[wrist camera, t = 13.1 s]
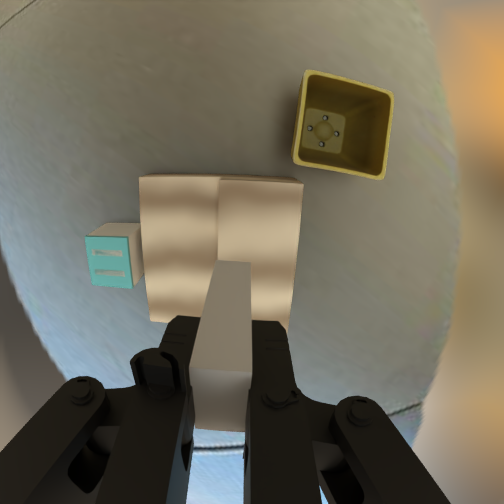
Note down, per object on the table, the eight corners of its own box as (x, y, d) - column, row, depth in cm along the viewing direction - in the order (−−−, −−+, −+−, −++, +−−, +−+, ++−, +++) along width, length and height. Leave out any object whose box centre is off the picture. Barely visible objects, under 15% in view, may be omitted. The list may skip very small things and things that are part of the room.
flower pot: (290, 87, 29) (304, 67, 20) (361, 103, 29) (396, 92, 21) (280, 160, 32) (292, 164, 23) (351, 172, 32) (384, 182, 24)
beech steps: (149, 174, 32) (130, 179, 26) (294, 177, 32) (303, 184, 27) (157, 307, 38) (145, 332, 33) (281, 313, 39) (286, 340, 33)
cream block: (126, 237, 29) (144, 223, 34) (84, 236, 28) (106, 222, 34) (132, 288, 31) (148, 267, 36) (92, 285, 30) (111, 265, 36)
